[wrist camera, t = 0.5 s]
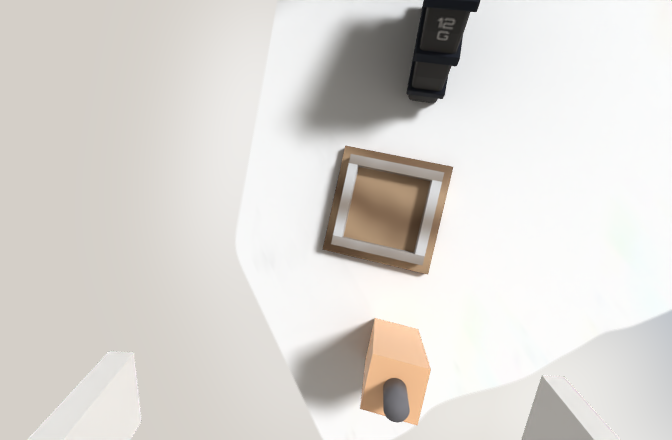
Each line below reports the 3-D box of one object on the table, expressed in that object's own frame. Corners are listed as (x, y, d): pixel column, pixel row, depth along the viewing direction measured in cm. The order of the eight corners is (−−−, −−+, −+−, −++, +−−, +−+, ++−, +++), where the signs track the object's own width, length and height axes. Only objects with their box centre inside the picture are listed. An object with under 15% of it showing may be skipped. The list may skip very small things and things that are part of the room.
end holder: (346, 147, 39) (343, 142, 37) (451, 168, 38) (456, 165, 35) (324, 248, 40) (320, 250, 37) (426, 272, 38) (429, 277, 36)
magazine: (400, 125, 37) (429, -21, 23) (415, 40, 42) (446, -120, 28) (435, 130, 36) (486, -16, 23) (446, 44, 42) (493, -118, 28)
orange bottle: (374, 318, 39) (371, 369, 26) (418, 329, 39) (436, 387, 26) (365, 359, 40) (357, 430, 27) (408, 371, 39) (421, 449, 26)
